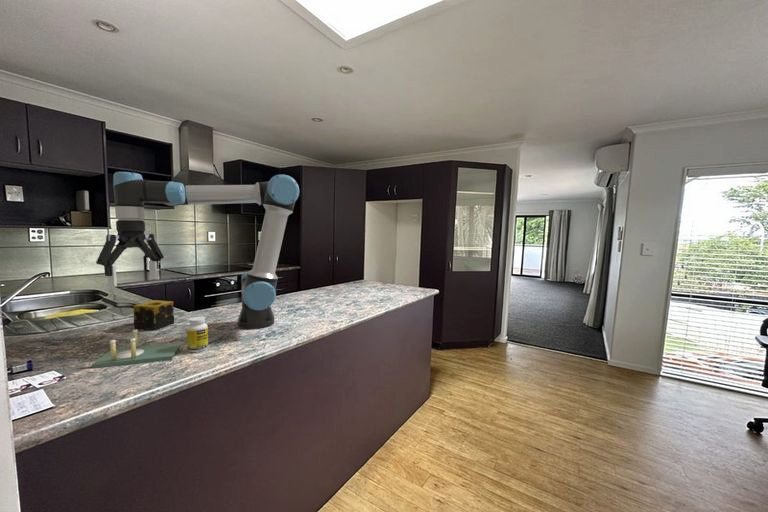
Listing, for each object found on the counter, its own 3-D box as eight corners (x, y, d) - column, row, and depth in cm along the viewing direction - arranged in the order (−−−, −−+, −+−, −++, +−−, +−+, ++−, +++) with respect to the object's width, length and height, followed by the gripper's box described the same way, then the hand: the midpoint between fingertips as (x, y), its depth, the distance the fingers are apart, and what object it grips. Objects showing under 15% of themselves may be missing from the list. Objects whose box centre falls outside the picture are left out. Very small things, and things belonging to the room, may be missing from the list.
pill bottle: (198, 353, 103) (197, 321, 102) (183, 352, 104) (182, 320, 103) (212, 347, 109) (211, 316, 108) (197, 345, 110) (196, 315, 109)
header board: (181, 346, 109) (181, 325, 109) (171, 359, 98) (171, 337, 97) (111, 352, 102) (110, 331, 102) (92, 368, 91) (91, 344, 90)
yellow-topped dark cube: (154, 322, 135) (154, 299, 135) (175, 323, 134) (174, 301, 133) (133, 329, 125) (131, 305, 125) (155, 331, 124) (154, 306, 123)
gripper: (157, 220, 116) (160, 276, 118) (77, 218, 92) (82, 288, 94) (173, 220, 114) (176, 277, 116) (95, 218, 90) (101, 290, 92)
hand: (134, 282), depth 105 cm, fingers open, 13 cm apart
